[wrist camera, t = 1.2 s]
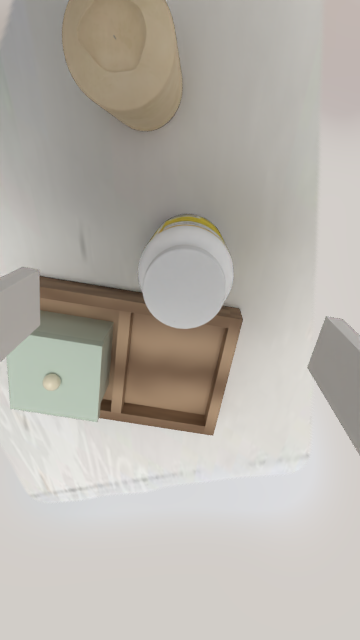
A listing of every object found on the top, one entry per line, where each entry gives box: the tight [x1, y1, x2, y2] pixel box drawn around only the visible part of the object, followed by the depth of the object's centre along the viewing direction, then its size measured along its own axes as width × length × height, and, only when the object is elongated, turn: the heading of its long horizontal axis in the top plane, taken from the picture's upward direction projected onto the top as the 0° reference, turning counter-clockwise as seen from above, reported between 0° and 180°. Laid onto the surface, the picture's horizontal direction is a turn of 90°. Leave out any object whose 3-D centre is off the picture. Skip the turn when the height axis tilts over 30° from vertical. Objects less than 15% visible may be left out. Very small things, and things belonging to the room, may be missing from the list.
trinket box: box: [7, 310, 114, 422], centre depth 29 cm, size 8×8×6 cm
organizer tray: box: [39, 276, 243, 435], centre depth 31 cm, size 13×20×2 cm, turn 81°
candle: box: [62, 0, 182, 131], centre depth 19 cm, size 6×6×10 cm
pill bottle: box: [138, 214, 234, 329], centre depth 23 cm, size 6×6×11 cm
